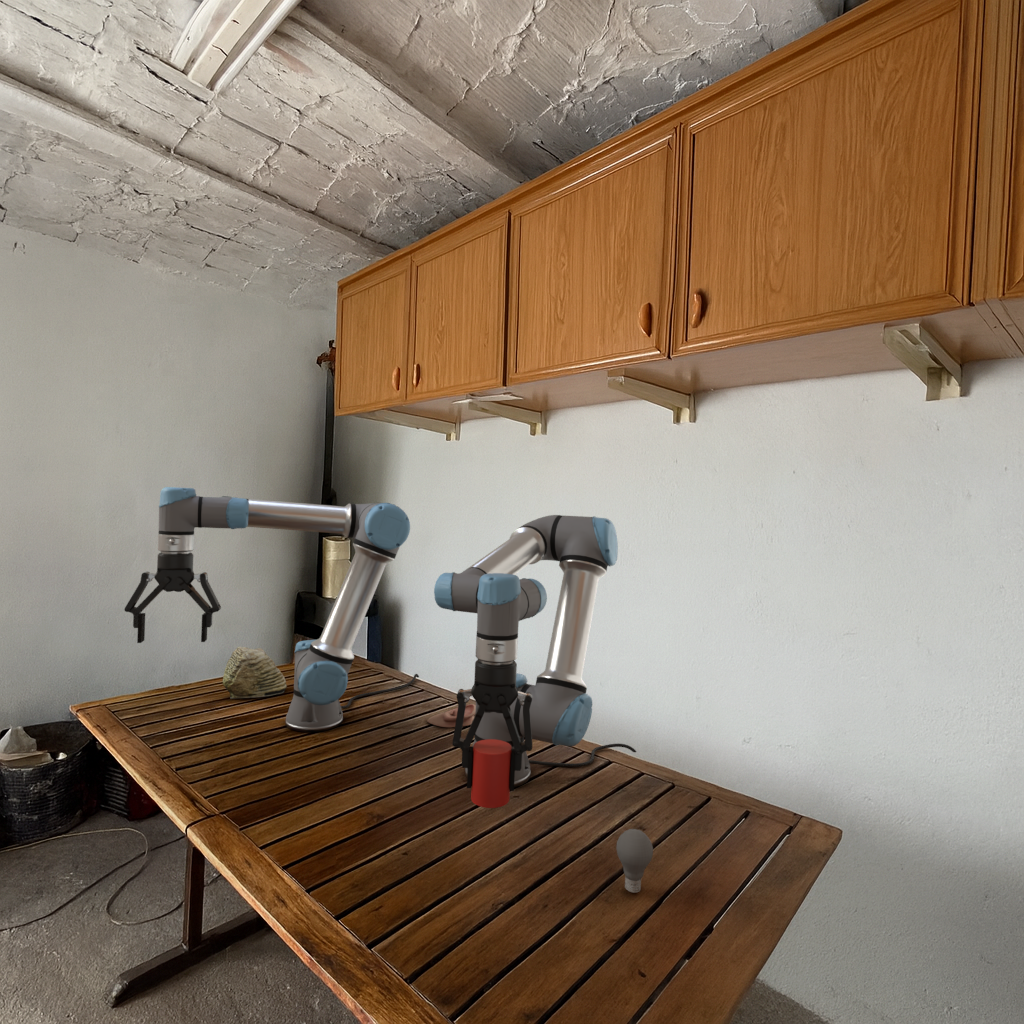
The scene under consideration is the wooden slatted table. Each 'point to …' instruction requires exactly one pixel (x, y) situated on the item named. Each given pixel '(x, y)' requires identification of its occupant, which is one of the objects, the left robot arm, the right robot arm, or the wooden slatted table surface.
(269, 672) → the fossil
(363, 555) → the left robot arm
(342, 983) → the wooden slatted table surface
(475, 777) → the cylinder
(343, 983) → the wooden slatted table surface
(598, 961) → the wooden slatted table surface
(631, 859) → the light bulb
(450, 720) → the anatomical model
